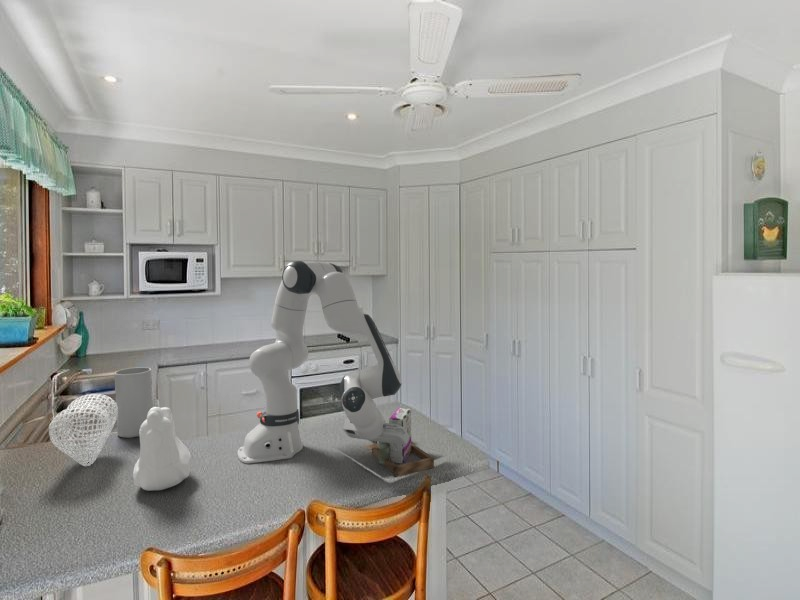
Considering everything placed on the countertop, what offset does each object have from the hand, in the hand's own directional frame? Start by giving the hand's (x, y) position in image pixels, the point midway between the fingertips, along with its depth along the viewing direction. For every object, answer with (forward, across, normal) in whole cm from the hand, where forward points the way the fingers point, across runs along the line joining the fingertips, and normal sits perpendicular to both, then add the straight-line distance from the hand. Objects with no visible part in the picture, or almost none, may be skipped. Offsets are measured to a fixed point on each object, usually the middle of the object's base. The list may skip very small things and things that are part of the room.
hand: (383, 442), depth 150 cm
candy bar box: (+10, -4, +1) cm, 11 cm away
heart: (-18, +93, +29) cm, 99 cm away
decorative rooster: (-17, +59, +28) cm, 68 cm away
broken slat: (+15, +5, -4) cm, 17 cm away
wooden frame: (+9, -5, +2) cm, 10 cm away
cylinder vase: (+1, +104, +10) cm, 105 cm away
